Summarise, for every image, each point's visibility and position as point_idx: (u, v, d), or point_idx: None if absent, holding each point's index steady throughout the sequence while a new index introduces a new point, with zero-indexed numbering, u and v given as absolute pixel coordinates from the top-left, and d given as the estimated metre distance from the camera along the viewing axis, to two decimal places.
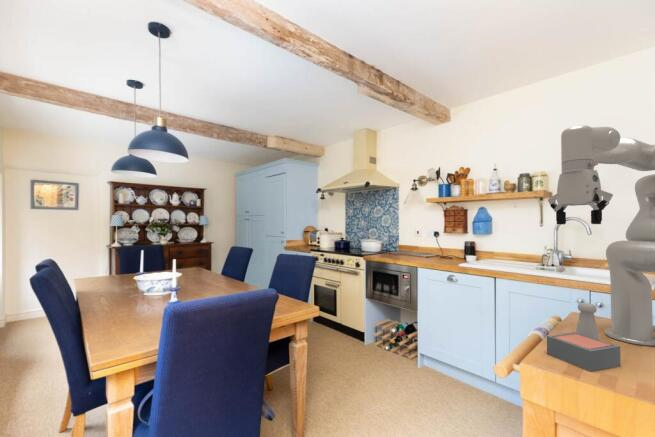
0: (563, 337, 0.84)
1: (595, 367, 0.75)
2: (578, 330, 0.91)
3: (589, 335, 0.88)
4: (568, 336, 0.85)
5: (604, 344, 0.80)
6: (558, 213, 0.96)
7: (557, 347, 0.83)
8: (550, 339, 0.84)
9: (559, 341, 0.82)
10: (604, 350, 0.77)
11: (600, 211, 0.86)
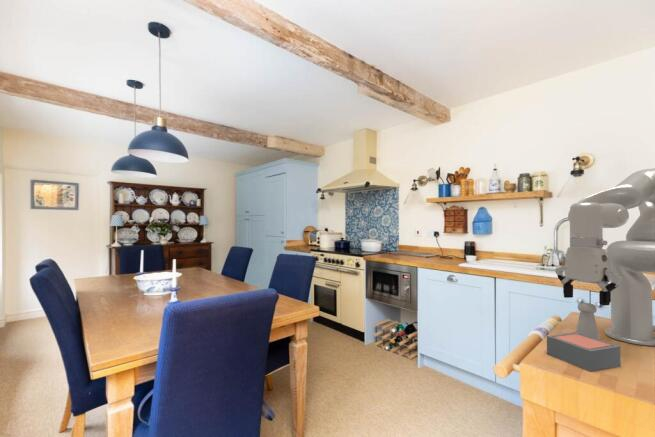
0: (563, 337, 0.84)
1: (595, 367, 0.75)
2: (578, 330, 0.91)
3: (589, 335, 0.88)
4: (568, 336, 0.85)
5: (604, 344, 0.80)
6: (565, 286, 0.95)
7: (557, 347, 0.83)
8: (550, 339, 0.84)
9: (559, 341, 0.82)
10: (604, 350, 0.77)
11: (609, 293, 0.85)
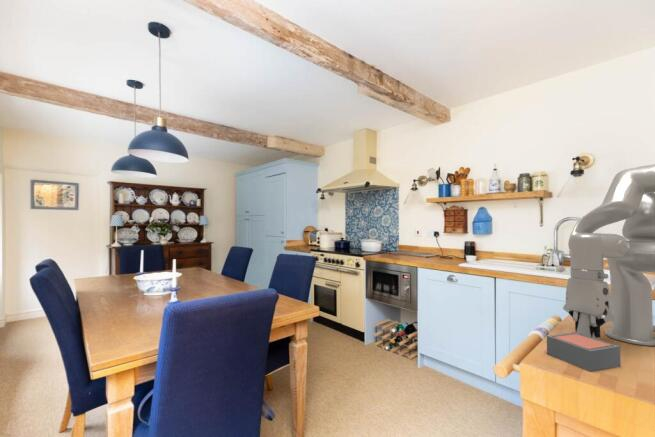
0: (563, 337, 0.84)
1: (595, 367, 0.75)
2: (578, 330, 0.91)
3: (589, 335, 0.88)
4: (568, 336, 0.85)
5: (604, 344, 0.80)
6: (577, 324, 0.92)
7: (557, 347, 0.83)
8: (550, 339, 0.84)
9: (559, 341, 0.82)
10: (604, 350, 0.77)
11: (598, 327, 0.88)
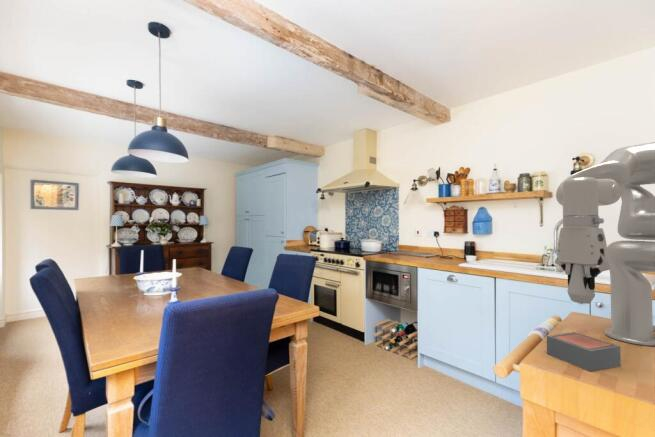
0: (563, 337, 0.84)
1: (595, 367, 0.75)
2: (571, 283, 0.83)
3: (582, 287, 0.80)
4: (568, 336, 0.85)
5: (604, 344, 0.80)
6: (570, 277, 0.84)
7: (557, 347, 0.83)
8: (550, 339, 0.84)
9: (559, 341, 0.82)
10: (604, 350, 0.77)
11: (593, 279, 0.80)
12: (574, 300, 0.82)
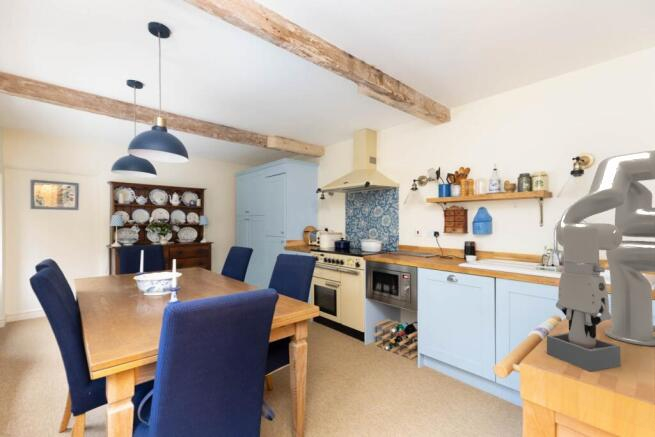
0: None
1: (595, 367, 0.75)
2: (572, 329, 0.82)
3: (584, 335, 0.80)
4: None
5: None
6: (571, 323, 0.83)
7: (557, 347, 0.83)
8: (550, 339, 0.84)
9: (559, 341, 0.82)
10: (604, 350, 0.77)
11: (594, 327, 0.79)
12: None
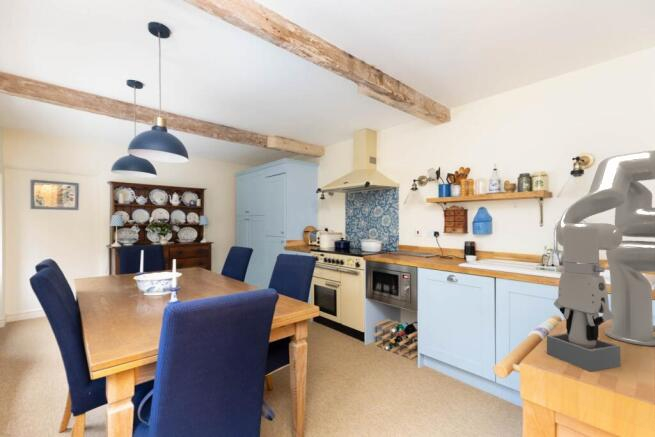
0: None
1: (595, 367, 0.75)
2: (572, 330, 0.82)
3: (584, 336, 0.80)
4: None
5: None
6: (569, 322, 0.84)
7: (557, 347, 0.83)
8: (550, 339, 0.84)
9: (559, 341, 0.82)
10: (604, 350, 0.77)
11: (596, 327, 0.79)
12: None
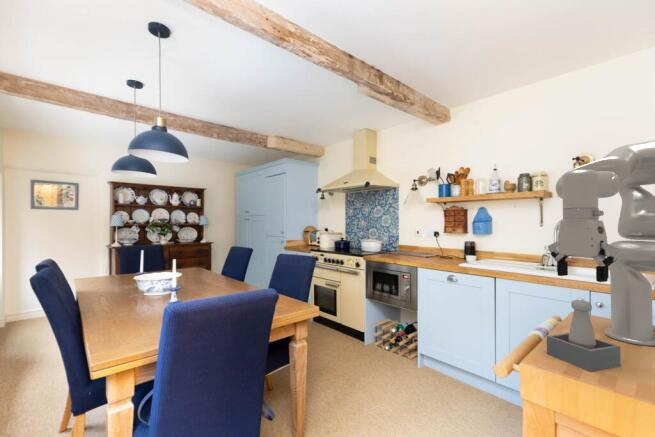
0: None
1: (595, 367, 0.75)
2: (572, 330, 0.82)
3: (584, 336, 0.80)
4: None
5: None
6: (559, 264, 0.87)
7: (557, 347, 0.83)
8: (550, 339, 0.84)
9: (559, 341, 0.82)
10: (604, 350, 0.77)
11: (606, 268, 0.77)
12: None
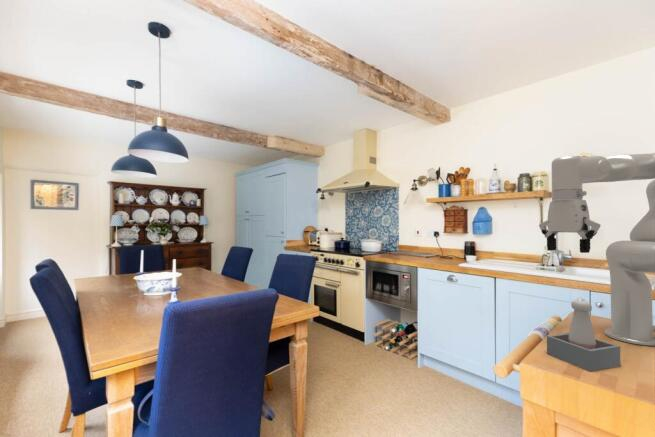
0: None
1: (595, 367, 0.75)
2: (572, 330, 0.82)
3: (584, 336, 0.80)
4: None
5: None
6: (549, 239, 0.98)
7: (557, 347, 0.83)
8: (550, 339, 0.84)
9: (559, 341, 0.82)
10: (604, 350, 0.77)
11: (588, 240, 0.89)
12: None
